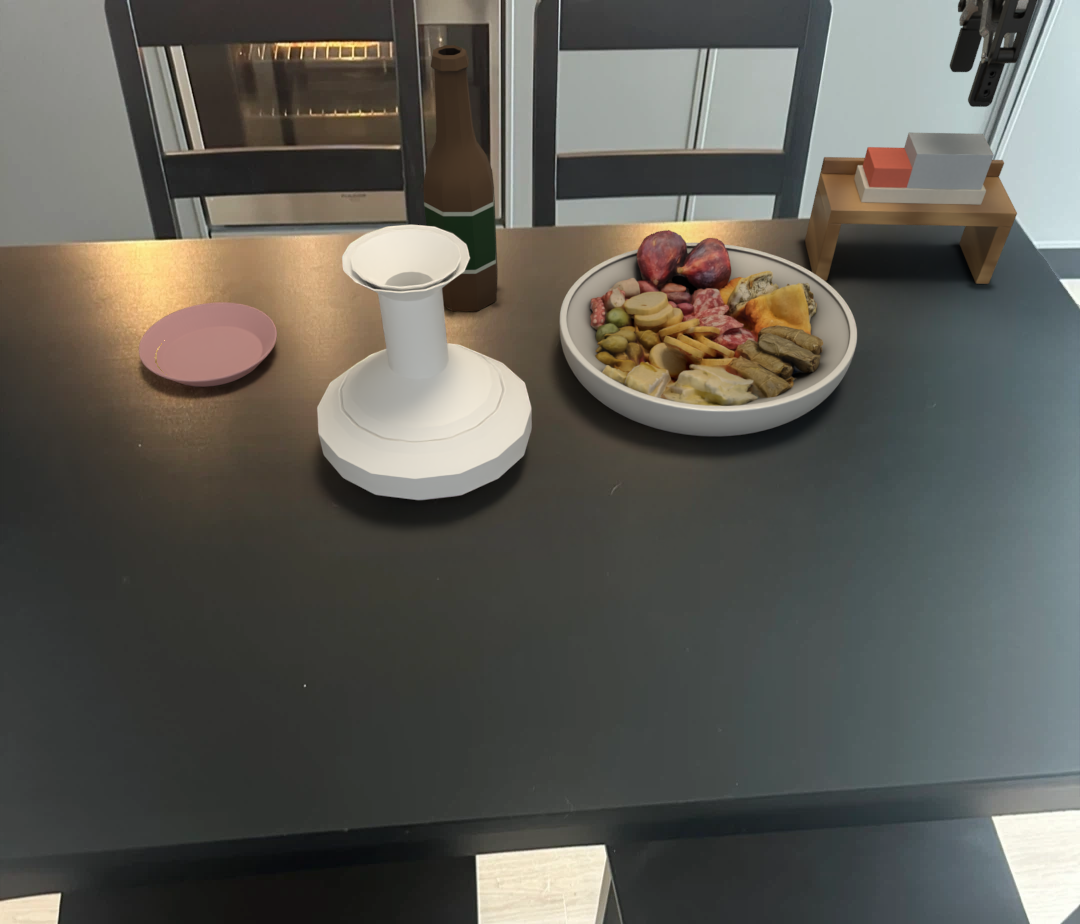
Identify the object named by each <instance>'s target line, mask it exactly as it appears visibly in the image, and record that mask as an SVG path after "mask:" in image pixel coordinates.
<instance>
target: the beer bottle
mask: <svg viewBox="0 0 1080 924" xmlns="http://www.w3.org/2000/svg"><path fill="white" fill-rule="evenodd" d="M469 65H470V59H469V55H468V51H467V49H465V48H463V47H460V46H458V45H457V44H456V45H455V44H454V45H453V44H452V45H451V44H449V45H448V44H447V45H442V46H439V47H436V48H434V49H433V50H432V55H431V61H430V67H431V68H432V69H433V73H434V94H435V95H434V97H435V98H434V100H435V102H434V103H435V141H434V144H433V145H432V147H431V149H430V152H429V154H428V157H427V162H426V165H425V166H426V168H425V171H424V176H423V207H424V215H425V226H433V227H437V228H439V229H442V230H445V231H447V232H450V233H453V234H454V235H455V236H457V237H458V238H459V239H460V240H462V241H463V242H464V243H465V244H466V245H467V248H468V252H469V256H470V259H469V261H468V264H467V266H466V268H465V271H464V272H463V273H461V274H460V275H459V276H457V277H456V278H455V279H453V280H452V281H451V282H449V283H448V284H447V285H445V286H444V287H443V288H442V294H443V304H444V308H446V309H448V310H450V311H452V312H478V311H480V310H482V309H484V308H486V307H487V306H489V305H492V304H493V303H496V301H497V297H498V249H497V224H496V223H497V221H496V201H495V200H496V199H495V197H496V196H495V184H494V183H495V182H494V175H493V168H492V166H491V164H490V161H489V158H488V156H487V154H486V152H485V151H484V149H483V148H482V147H481V145H480V143H479V142H478V141H477V137H476V134H475V128H474V125H473V115H472V107H471V98H470V89H469V88H470V87H469V80H468V72H467V71H468V70H467V68H468V67H469Z"/></svg>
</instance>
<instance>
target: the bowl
mask: <svg viewBox="0 0 1080 924" xmlns="http://www.w3.org/2000/svg"><path fill="white" fill-rule="evenodd" d="M559 312H560V313H559V338H560V343H561V348H562V352H563V355H564V358H565V360H566V362H567V364H568V367H569V368H570V370H571V372H572V373H573V375H574V376H575V378H576V379H577V381H578V382H579V383H580V384H581V385H582V387H583V388H584V389H586V391H587V392H589V394H591V395H592V396H593V397H594V398H595V399H596V400H597V401H599V402H600V403H602V404H603V405H604V406H606V407H607V408H608V409H610V410H612V411H613V412H615V413H618V414H619V415H621V416H623V417H625V418H627V419H629V420H631V421H634V422H636V423H639V424H642V425H645V426H647V427H651V428H654V429H657V430H661V431H665V432H669V433H675V434H681V435H688V436H697V437H732V436H741V435H748V434H754V433H759V432H763V431H767V430H770V429H774V428H777V427H780V426H782V425H785V424H787V423H790V422H792V421H794V420H797V419H799V418H801V417H802V416H804V415H806V414H808V413H809V412H811V410H813V409H815V408H816V407H818V406H819V405H820V404H822V403H823V402H824V401H825V400H826V399H827V398H828V397H829V396H831V394H832V393H833V392H834V391H835V390H836V388H837V387H838V386H839V385H840V384H841V382H842V380H843V379H844V377H845V376H846V374H847V372H848V370H849V368H850V365H851V364H852V360H853V358H854V354H855V351H856V347H857V342H858V327H857V324H856V320H855V317H854V315H853V312H852V310H851V308H850V306H849V305H848V304H847V302H846V301H845V299H844V298H843V297H842V295H841V294H840V293H839V292H838V291H837V290H836V289H835V288H834V287H833V286H832V285H830V284H829V283H828V282H827V281H824V280H823V279H821V278H820V277H818V276H817V275H815V274H814V273H812V270H811V271H810V270H809V269H808V268H805V267H803V266H802V265H799V264H797V263H795V262H793V261H791V260H788V259H786V258H783V257H780V256H778V255H775V254H771V253H769V252H765V251H762V250H757V249H754V248H748V247H745V246H739V245H732V244H725V243H724V242H723V241H722V240H720V239H718V238H715V237H707V238H704V239H703V240H700V242H686V240H685V239H684V238H683V237H682V235H680V234H678V233H677V232H675V231H672V230H670V229H668V230H667V229H665V230H664V229H663V230H660V231H656V232H653V233H651V234H649V235H647V236H645V237H644V238H643V240H642V241H641V244H640V246H639V247H638V248H637V249H632V250H630V251H626V252H623V253H621V254H618V255H615V256H613V257H611V258H608V259H606V260H603V261H602V262H600V263H599V264H597V265H595V266H594V267H592V268H590V269H589V270H588V271H586V272H585V273H583V275H581V276H580V277H579V278H578V279H577V280H576V281H575V282H574V283H573V284H572V286H571V287H570V288H569V289H568V291H567V293H566V295H565V297H564V298H563V301H562V303H561V306H560V310H559Z"/></svg>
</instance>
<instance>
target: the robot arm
mask: <svg viewBox="0 0 1080 924" xmlns="http://www.w3.org/2000/svg"><path fill="white" fill-rule="evenodd" d="M1037 3H1038V0H959V1H958V3H957V12H958V13H961V14H960V16H959V26H960V29H959V32H958V35H957V39H956V42H955V45H954V49H953V51H952V56H951V59H950V62H949V69H950V71H951V72H952V73H969V72H970V71H971V70H972V69H973V67H974V65H975V61H976V59H977V55H978V51H979V49H980V46H981V45H980V44H981V42H982V39H983V42H982V49H981V55H980V60H979V64H978V67H977V70H976V72H975V74H974V79H973V82H972V85H971V87H970V88H971V89H970V91H969V94H968V98H967V102H968V104H969V106H970V107H971V108H972V107H973V108H986V107H989V106H990V105H991V104H992V103H993V102H994V101H993V100H994V98H995V95H996V91H997V88H998V86H999V83H1000V80H1001V78H1002V74H1003V71H1004V68H1005V65H1006V64H1016V63H1017V62H1018V60H1019V58H1020V55H1021V51H1022V48H1023V45H1024V42H1025V40H1026V36H1027V33H1028V30H1029V28H1030V24H1031V21H1032V18H1033V15H1034V12H1035V10H1036V6H1037ZM1002 44H1003V46H1002Z"/></svg>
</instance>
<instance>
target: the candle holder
mask: <svg viewBox="0 0 1080 924" xmlns="http://www.w3.org/2000/svg"><path fill="white" fill-rule="evenodd" d="M469 259H470V256H469V252H468V248H467V245H466V244H465V243H464V242H463V241H462V240H460V239H459V238H458V237H457V236H455V235H454V234H453V233H450V232H447V231H445V230H442V229H439V228H437V227H433V226H426V225H421V224H419V225H418V224H401V225H391V226H390V225H389V226H383V227H381V228H379V229H376V230H373V231H369V232H366V233H364V234H363V235H361V236H359V237H358V238H356V239H355V240H354V241H352V242H350V243H349V244H348V245H347V247H346V249H345V250H344V252H343V254H342V255H341V261H342V270H343V272H344V273H345V274H346V275H347V276H348V277H349V278H350V279H351V280H353V282H354V283H355V284H358V285H359V286H362V287H364V288H366V289H368V290H371V291H373V292H374V293H376V294H377V297H378V304H379V309H380V316H381V323H382V328H383V336H384V342H385V348H384V349H381V350H379V351H376V352H374V353H372V354H369V355H368V356H366V357H365V358H363V359H361V360H360V361H358V362H356V363H355V364H353V366H351V367H349V368H348V369H347V370H345V371H344V372H343V373H341V374H340V375H338V377H335V378H333V380H332V381H330V382H329V384H328V386H327V387H326V390H325V392H324V394H323V395H322V397H321V399H320V401H319V403H318V405H317V407H316V411H317V431H318V432H317V433H318V438H319V442H320V447H321V450H322V454H323V456H324V457H325V458H326V460H327V461H328V462H329V463H330V464H331V466H332V467H333V468H334V469H335V470H336V471H337V473H338V474H339V475H340V476H341V477H342V478H343V479H345V480H346V481H348V482H349V483H352V484H353V485H356V486H358V487H360V488H362V489H364V490H366V491H367V492H369V493H371V494H373V495H375V496H382V497H391V498H399V499H407V500H415V501H426V500H435V499H444V498H451V497H459V496H463V495H465V494H467V493H469V492H472V491H474V490H476V489H478V488H480V487H483V486H485V485H488V484H489V483H492V482H494V481H496V480H498V479H500V478H501V477H502V476H503V475H505V473H506V472H507V471H508V470H509V469H511V468H512V467H513V466H514V465H515V464H516V463H518V461H520V459H522V458H523V457H524V456H525V454H526V449H527V446H528V442H529V439H530V436H531V433H532V431H533V430H532V429H533V428H532V427H533V423H532V422H533V421H532V419H533V418H532V416H533V415H532V404H531V400H530V398H529V393H528V389H527V386H526V382H525V381H523V379H522V378H521V377H520V376H518V375H517V374H516V373H515V372H513V371H512V370H511V369H510V368H509V367H508V366H507V365H506V364H505V363H504V362H502V361H499V360H497V359H494V358H493V357H490V356H487V355H485V354H483V353H480V352H478V351H475V350H473V349H471V348H469V347H466V346H463V345H461V344H457V343H448V338H447V328H446V317H445V316H446V315H445V306H444V304H443V294H442V288H443V287H444V286H445V285H447V284H448V283H449V282H451V281H452V280H453V279H455V278H456V277H457V276H459V275H460V274H461V273H463V272H464V271H465V268H466V266H467V264H468V261H469Z"/></svg>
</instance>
